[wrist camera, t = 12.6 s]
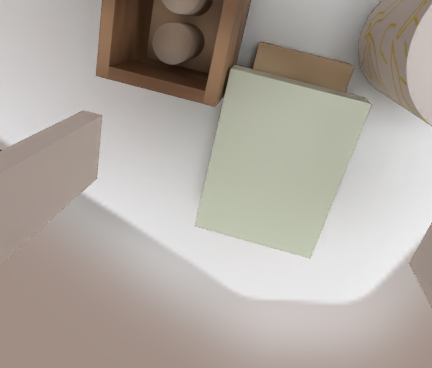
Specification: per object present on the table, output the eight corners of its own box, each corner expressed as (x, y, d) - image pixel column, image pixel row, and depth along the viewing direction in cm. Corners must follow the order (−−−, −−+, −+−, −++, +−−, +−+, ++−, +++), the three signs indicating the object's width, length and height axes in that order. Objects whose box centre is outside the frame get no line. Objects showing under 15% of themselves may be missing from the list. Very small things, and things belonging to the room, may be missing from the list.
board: (287, 235, 35) (288, 249, 33) (216, 215, 36) (212, 228, 34) (348, 63, 29) (354, 66, 27) (260, 41, 29) (259, 43, 27)
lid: (307, 237, 32) (310, 258, 29) (202, 207, 33) (194, 226, 30) (362, 95, 27) (372, 104, 24) (236, 63, 28) (230, 68, 25)
